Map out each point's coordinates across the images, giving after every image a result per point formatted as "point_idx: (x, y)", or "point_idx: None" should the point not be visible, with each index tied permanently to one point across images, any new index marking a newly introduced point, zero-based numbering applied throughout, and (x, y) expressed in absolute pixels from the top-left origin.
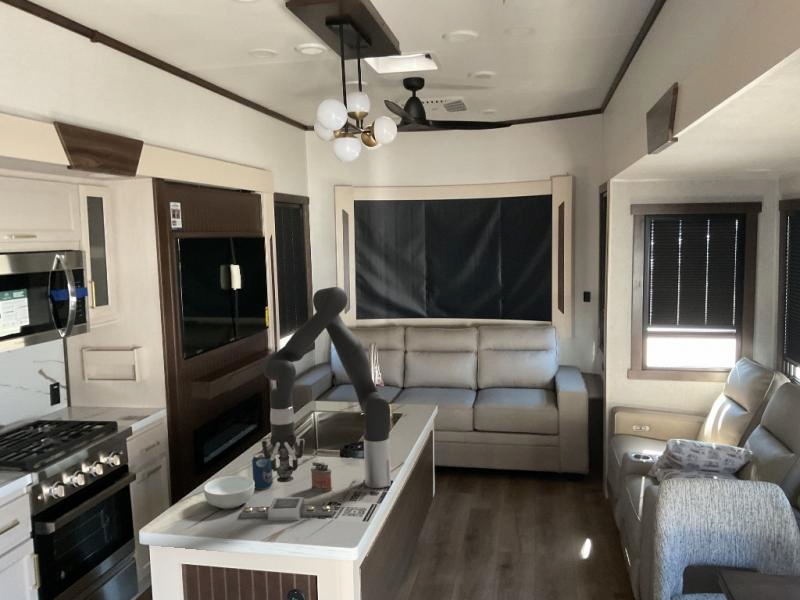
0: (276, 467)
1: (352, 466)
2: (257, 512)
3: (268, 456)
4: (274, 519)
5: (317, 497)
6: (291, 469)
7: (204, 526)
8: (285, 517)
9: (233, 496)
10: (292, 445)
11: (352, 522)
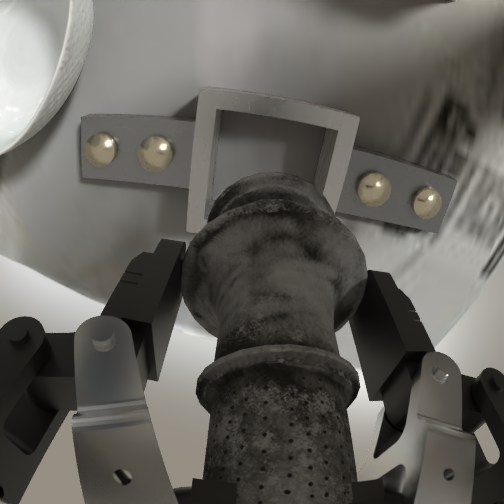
0: (181, 251)
1: None
2: (140, 175)
3: (67, 402)
4: None
5: (405, 31)
6: (338, 324)
7: (17, 217)
8: None
9: (18, 144)
10: None
11: (458, 278)
